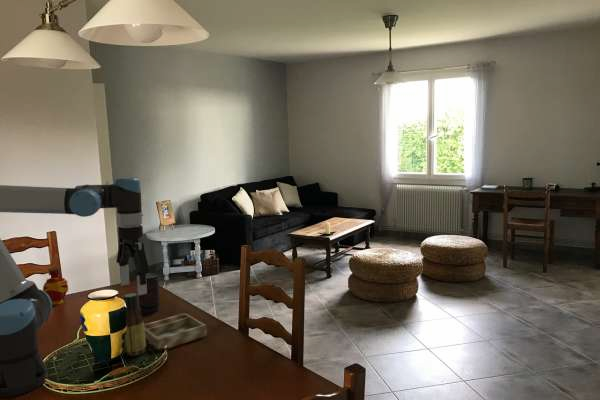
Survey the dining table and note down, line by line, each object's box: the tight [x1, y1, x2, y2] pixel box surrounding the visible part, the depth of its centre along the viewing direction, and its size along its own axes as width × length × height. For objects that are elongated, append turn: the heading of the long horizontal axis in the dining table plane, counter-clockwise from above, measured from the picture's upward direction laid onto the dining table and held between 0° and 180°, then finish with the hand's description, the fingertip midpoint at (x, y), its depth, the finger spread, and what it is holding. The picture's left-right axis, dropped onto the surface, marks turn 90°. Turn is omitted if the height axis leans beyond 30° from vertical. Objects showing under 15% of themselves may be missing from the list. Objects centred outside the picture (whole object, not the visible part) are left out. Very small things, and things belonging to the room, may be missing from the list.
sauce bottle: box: [123, 292, 147, 357], centre depth 152 cm, size 7×6×20 cm
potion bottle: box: [42, 267, 69, 306], centre depth 202 cm, size 10×10×15 cm
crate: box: [144, 312, 208, 349], centre depth 165 cm, size 18×16×4 cm
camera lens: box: [137, 272, 160, 315], centre depth 190 cm, size 8×8×15 cm
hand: (133, 289), depth 153 cm, fingers open, 13 cm apart
